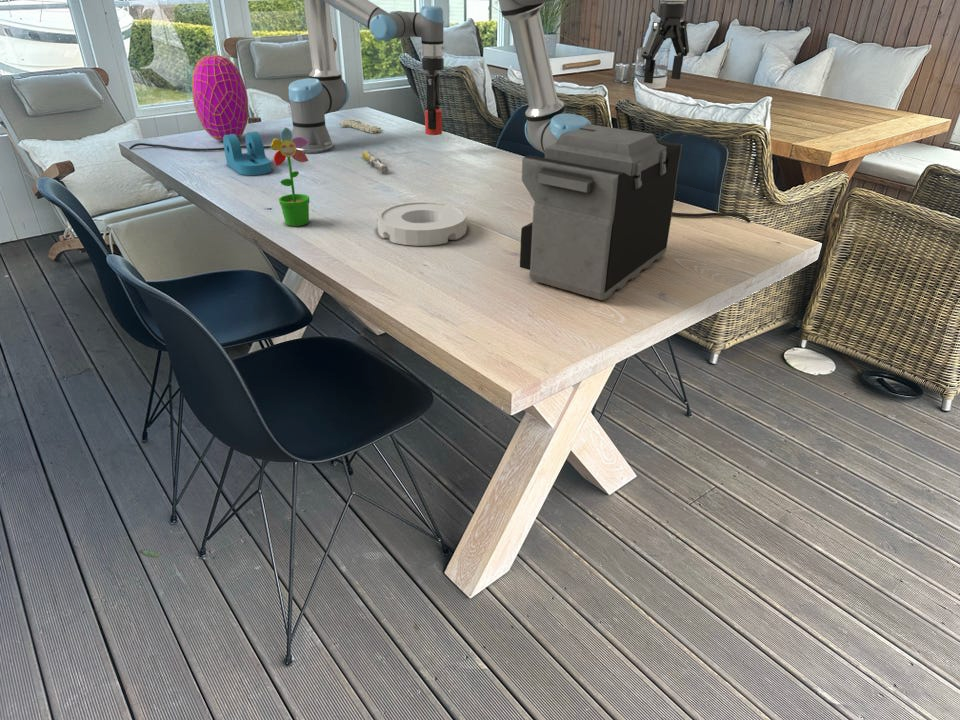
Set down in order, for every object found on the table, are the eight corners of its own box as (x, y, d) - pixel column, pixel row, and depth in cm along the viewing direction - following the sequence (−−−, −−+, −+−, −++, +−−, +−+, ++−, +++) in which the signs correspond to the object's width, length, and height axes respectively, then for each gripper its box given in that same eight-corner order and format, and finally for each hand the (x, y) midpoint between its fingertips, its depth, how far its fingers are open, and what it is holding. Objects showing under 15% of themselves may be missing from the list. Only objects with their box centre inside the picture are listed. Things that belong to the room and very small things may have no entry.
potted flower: (284, 229, 179) (270, 130, 166) (277, 220, 185) (263, 124, 172) (319, 224, 183) (308, 127, 170) (311, 215, 188) (300, 121, 176)
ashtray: (385, 214, 190) (384, 200, 188) (468, 216, 189) (468, 202, 187) (371, 244, 170) (369, 229, 168) (464, 246, 170) (464, 231, 167)
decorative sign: (331, 121, 290) (351, 118, 296) (331, 123, 291) (352, 120, 296) (366, 132, 273) (387, 128, 279) (366, 134, 274) (387, 131, 280)
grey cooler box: (589, 234, 178) (601, 114, 162) (670, 254, 167) (691, 126, 151) (511, 281, 152) (516, 142, 137) (601, 307, 141) (617, 160, 126)
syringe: (360, 156, 244) (360, 148, 243) (371, 155, 246) (370, 147, 244) (377, 174, 224) (377, 166, 223) (389, 173, 226) (388, 165, 224)
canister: (445, 132, 249) (444, 110, 245) (437, 135, 244) (437, 112, 240) (430, 130, 251) (430, 108, 247) (422, 134, 246) (421, 111, 242)
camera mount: (227, 164, 233) (221, 132, 227) (257, 160, 238) (252, 129, 233) (244, 176, 220) (239, 143, 215) (276, 172, 225) (271, 139, 220)
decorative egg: (239, 132, 274) (226, 50, 259) (262, 141, 262) (250, 56, 247) (192, 139, 263) (176, 54, 248) (214, 149, 251) (198, 60, 236)
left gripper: (439, 61, 226) (440, 133, 238) (447, 53, 242) (447, 121, 254) (416, 60, 227) (418, 132, 238) (426, 53, 243) (427, 120, 255)
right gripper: (687, 0, 208) (676, 75, 219) (635, 3, 195) (626, 83, 205) (708, 2, 204) (696, 78, 214) (656, 4, 190) (646, 86, 200)
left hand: (433, 126), depth 246 cm, fingers closed on canister, 6 cm apart
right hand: (661, 81), depth 210 cm, fingers open, 13 cm apart
